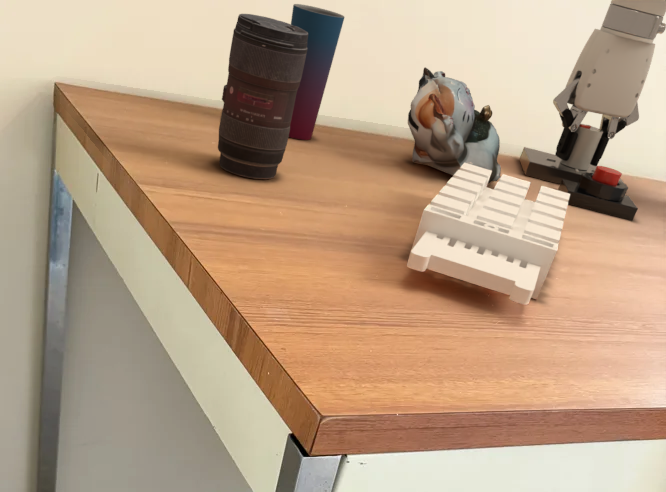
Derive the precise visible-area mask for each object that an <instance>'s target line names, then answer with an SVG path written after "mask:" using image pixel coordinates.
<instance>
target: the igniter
mask: <svg viewBox="0 0 666 492" xmlns="http://www.w3.org/2000/svg"><path fill="white" fill-rule="evenodd" d="M593 174H594V173H588V172H585V173H582V174H581V176H580V179H579V181H578V183H576V182H573V181H569V180H565V179H562V181H561V183H560V184H559V186H558V188H557V190H559V191H562V192H566V193H569V194H570V198H569V201H568V205H570V206H573V207H578V208H581V209H586V210H589V211H592V212H593V211H594V212H598V213H601V214H605V215H609V216H613V217H617V218H620V219H625V220H628V221H631V222H632V221H634V218H635V216H636V214H637V212H638V210H639V208H638V206H637V205H636V203H634V201H633V200H632V198H631V197H630V195H627V193H628V192H627V191H628V189H629V186H628V185H627V184H626V183H625V182H624V183H622V182H620V181H619V182H618V184H617V185H610V184H607V183H603V182H600V181H597V180H595V179H593V178H592V176H593Z"/></svg>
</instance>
